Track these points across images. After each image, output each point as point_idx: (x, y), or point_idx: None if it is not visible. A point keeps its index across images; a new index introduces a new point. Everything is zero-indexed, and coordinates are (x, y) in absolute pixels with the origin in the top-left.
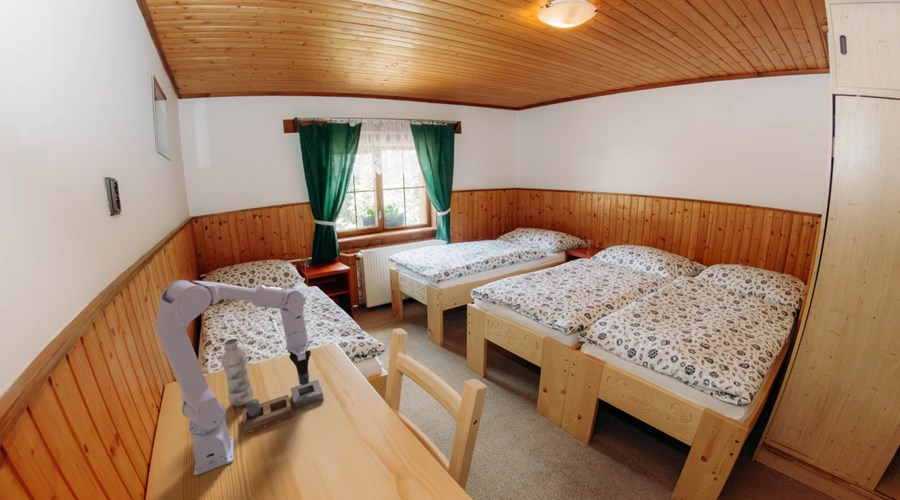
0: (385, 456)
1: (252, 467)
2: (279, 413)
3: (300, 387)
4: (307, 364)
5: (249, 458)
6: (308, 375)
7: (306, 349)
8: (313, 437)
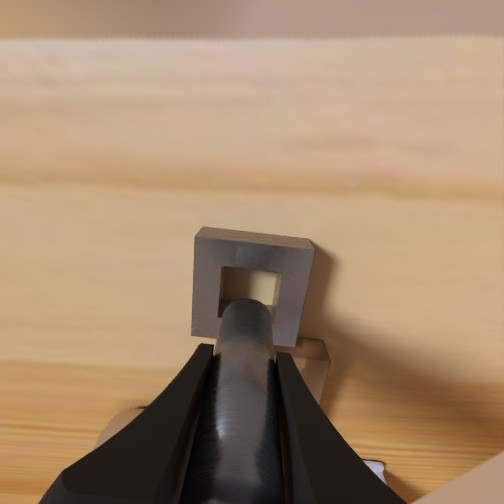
0: None
1: (435, 438)
2: (322, 390)
3: (210, 307)
4: (319, 409)
5: (400, 438)
6: (263, 325)
7: (168, 462)
8: (469, 319)
